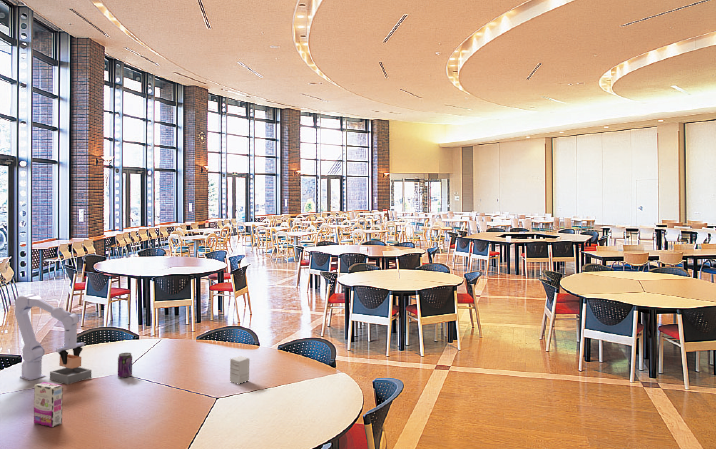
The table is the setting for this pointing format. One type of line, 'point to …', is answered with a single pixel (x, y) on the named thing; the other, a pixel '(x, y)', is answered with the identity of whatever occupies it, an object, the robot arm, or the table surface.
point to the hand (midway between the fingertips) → (70, 362)
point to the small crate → (71, 361)
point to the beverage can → (124, 365)
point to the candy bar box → (48, 404)
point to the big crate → (70, 375)
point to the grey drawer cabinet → (239, 369)
